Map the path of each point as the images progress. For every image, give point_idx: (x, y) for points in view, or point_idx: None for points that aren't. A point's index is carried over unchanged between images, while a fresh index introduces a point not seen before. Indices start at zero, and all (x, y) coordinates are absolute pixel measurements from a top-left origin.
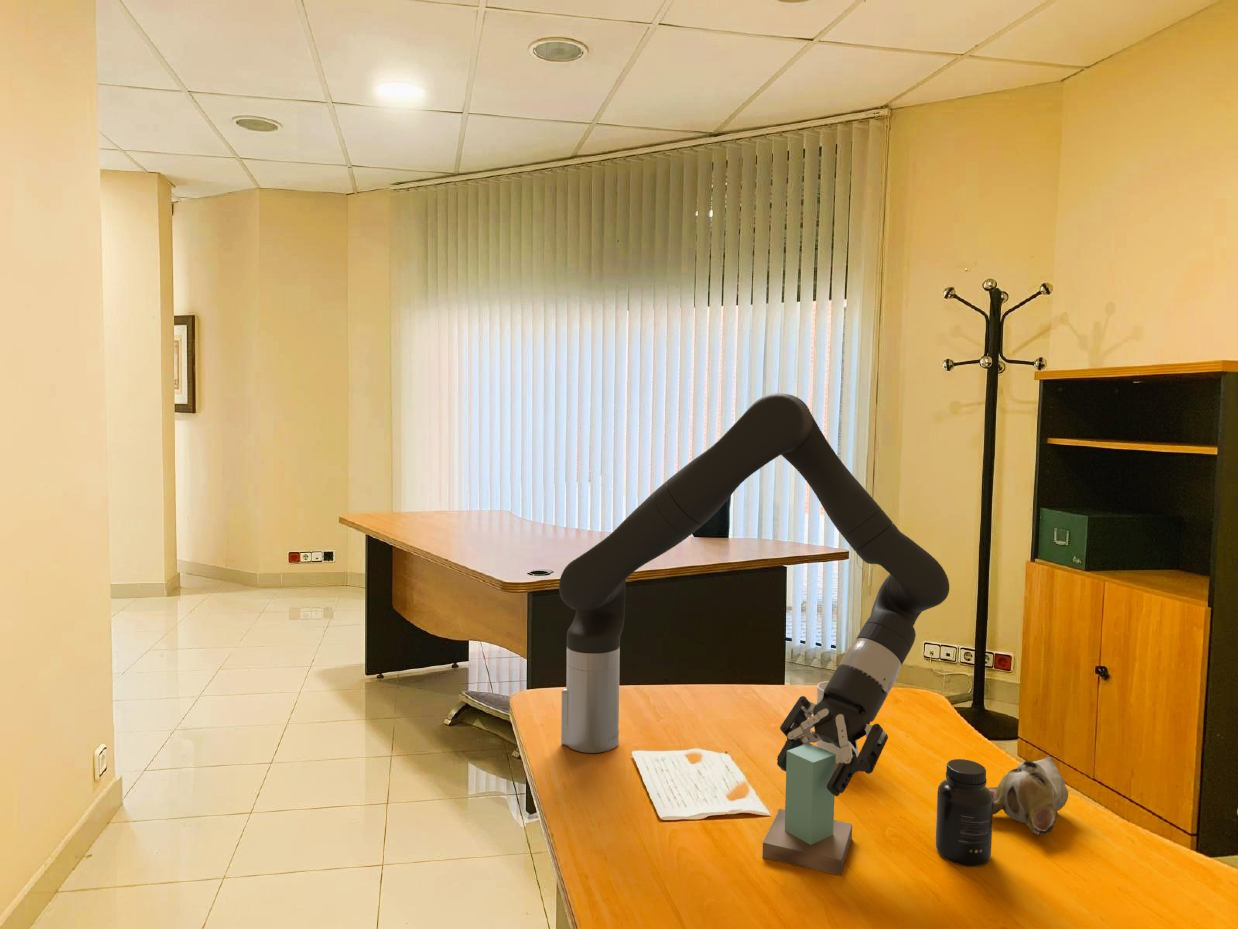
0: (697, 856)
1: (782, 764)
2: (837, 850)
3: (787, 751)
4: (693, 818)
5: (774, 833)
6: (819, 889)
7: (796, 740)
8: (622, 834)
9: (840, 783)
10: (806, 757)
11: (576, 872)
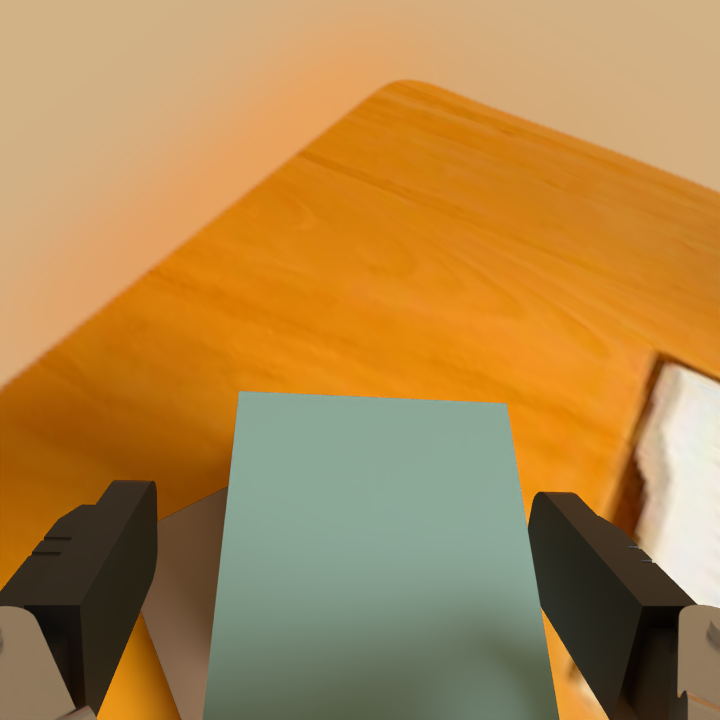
0: (465, 311)
1: (540, 507)
2: (162, 589)
3: (498, 404)
4: (645, 434)
5: None
6: (143, 436)
7: (669, 669)
8: (627, 255)
9: (55, 527)
10: (333, 422)
11: (527, 130)
